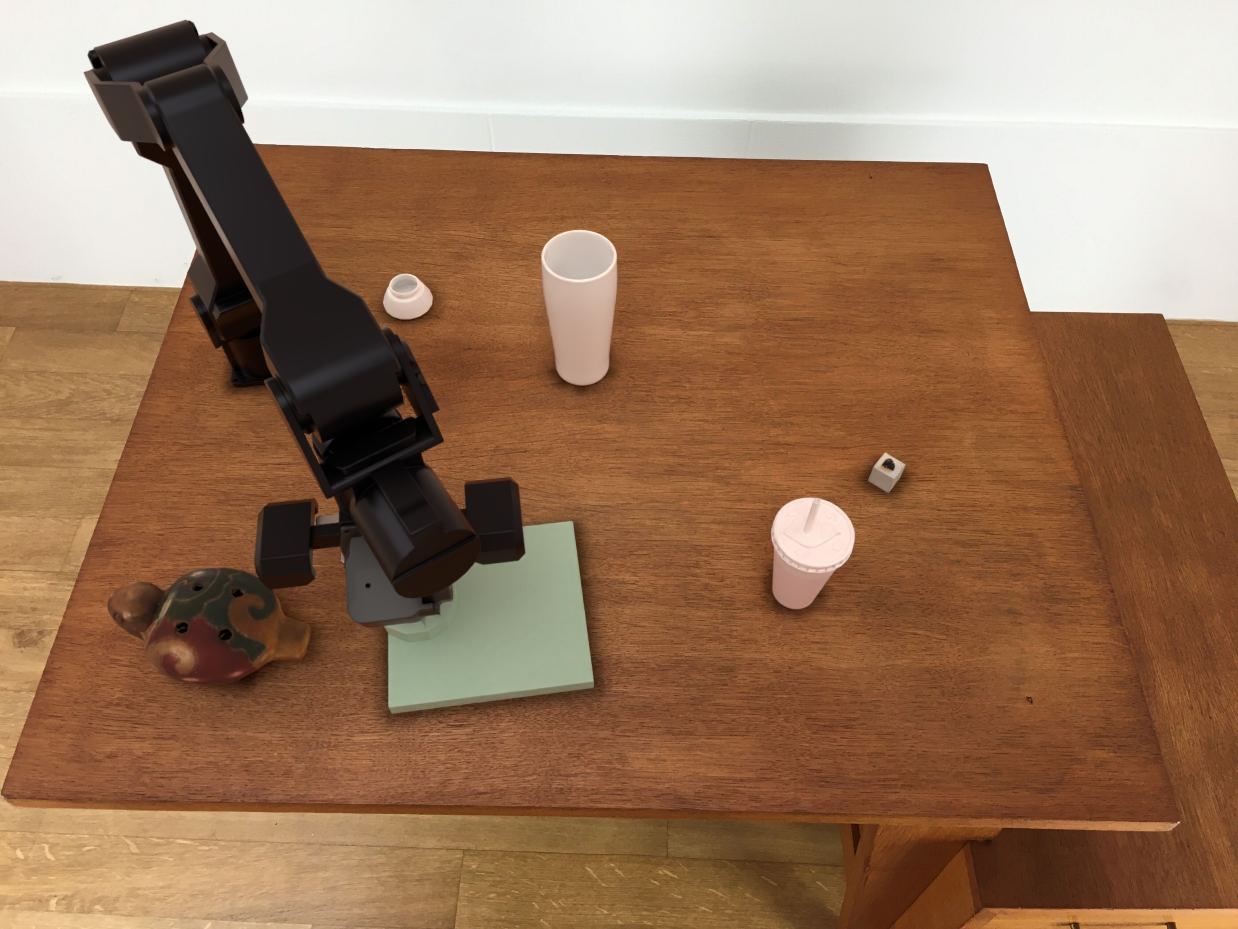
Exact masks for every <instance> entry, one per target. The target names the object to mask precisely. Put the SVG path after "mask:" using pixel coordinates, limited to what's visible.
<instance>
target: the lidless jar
mask: <svg viewBox="0 0 1238 929" xmlns="http://www.w3.org/2000/svg"><path fill="white" fill-rule="evenodd" d="M383 295H384V296H383V302H382V304H383V307H384V309H385V312H386V313H387V314H388V315H390V316H391V317H393V318H396V319H399V320H412V319H416V318H419V317H421V316H422V315H425V314H426V313H427V312H429V310H430V308H431V307H432V306H433V300H434V297H433V294H432V291H431V290H430V288H429V287H427V285H426V284H425V283H424V282H423V281H421V280H420V279H419V278H418V277H417V276H415V275H414V274H410V273H401V274H400V273H399V274H398V275H396V276H393V278H392V279H391V280H390V281H389V284H388V287H387V288H386V291H385V293H384V294H383Z"/></svg>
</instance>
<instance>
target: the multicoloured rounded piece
mask: <svg viewBox="0 0 1238 929" xmlns="http://www.w3.org/2000/svg"><path fill="white" fill-rule="evenodd" d="M106 607H107V608H106V609H107V612H108V614H109V616H110V617H111V618H112V620H113V621H114V622H115V623H116V625H118V627H120V628H121V629H122V630H124V631H125V632H127V633H128V634H129V635H131V636H134V637H136V638H139V639H140V640H142V641H143V646H144V648H143V650H144V656H145V658H146V660H147V662H148V663H149V665H150V667H152V669H154V670H155V671H157V672H158V673H160V674H161V675H163V676H165V677H167V678H170V679H173V680H175V681H178V682H182V683H188V684H193V685H194V684H195V685H229V684H234V683H238V682H239V681H240V680H242V679H244V677H247V676H249V675H250V674H252V673H254V672H256V671H257V670H259V669H260V668H262V667H263V666H265V665H266V664H268V663H269V662H273V661H299V660H302V659H304V657H305V656H306V654H307V653H308V651H309V650H310V648H311V641H312V627H311V625H310V624H309V623H307V622H304V621H302V620H298V619H295V618H291V617H289V616H287V615H285V613H284V611H283V608H282V605H281V601H280V599H279V597H278V595H277V593H276V592H275V589H273V590H270V589H268V588H267V587H266V586H265V585H263V584H262V582H261V580H260V579H259V577H258V576H257V575H254V574H253V573H251V572H250V573H249V572H248V571H245V570H241V569H236V568H232V567H231V568H230V567H209V568H206V567H205V568H201V569H196V570H193V571H191V572H190V571H189V572H188V573H186V574H183V575H181V576H180V577H179V578H177V579H176V580H175V581H174V582H173V583H172V584H171V585H170V587H169V588H168V589H166V590H165V589H162V588H160V586H158V585H156V584H155V583H152V582H148V581H142V580H141V581H140V580H138V581H132V582H129V583H128V582H127V583H126V584H122V585H120V586H119V587H117V588H116V589H114V590H113V591H112V592H111V594H109V596H108V599H107V603H106Z"/></svg>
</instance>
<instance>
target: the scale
mask: <svg viewBox="0 0 1238 929" xmlns="http://www.w3.org/2000/svg"><path fill="white" fill-rule="evenodd" d="M574 526H575V525H574V521H573V520H567V521H559V522H558V521H557V522H551V523H550V522H549V523H541V524H532V525H523V532H524V542H525V552H526V553H525V555H524V556H523V557H522V558H521V559H520V560H519V561H513V562H505V563H496V564H488V565H482V564H479V563H476V562H475V563H474V565H473V566H472V567H471V568H470V569H469V571H468V572H467V573H466V574H464V575H463V576H462V577H461V578H460V579H459V580H457V581H456V582H455V583H453V584H452V585H453V600H452V601H450V602H443V603H442V604H441V606H440V614H439V615H431V616H425V617H424V618H423V619H422V620H421V621H419V622H416V623H406V624H397V625H389V626H383V628H384V629H385V631H386V632H387V670H388V671H387V677H388V678H387V686H388V687H387V688H388V689H387V690H388V691H387V693H388V694H387V695H388V696H387V697H388V698H387V699H388V700H387V703H388V706H387V708H388V709H389V712H390V713H391V714H392V715H393V714H399V713H400V714H401V713H407V712H408V713H409V712H416V711H424V710H430V709H441V708H449V707H454V706H463V705H471V704H479V703H486V702H492V701H493V702H494V701H501V700H503V701H504V700H508V699H517V698H524V697H533V696H540V695H549V694H556V693H557V694H558V693H563V692H564V693H565V692H572V691H580V690H588V689H589V690H590V689H594V687H595V681H594V674H593V673H594V672H593V665H592V658H591V650H590V642H589V634H588V627H587V619H586V611H585V604H584V596H583V595H584V594H583V589H582V580H581V572H580V565H579V558H578V551H577V550H578V549H577V543H576V534H575V527H574Z"/></svg>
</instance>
